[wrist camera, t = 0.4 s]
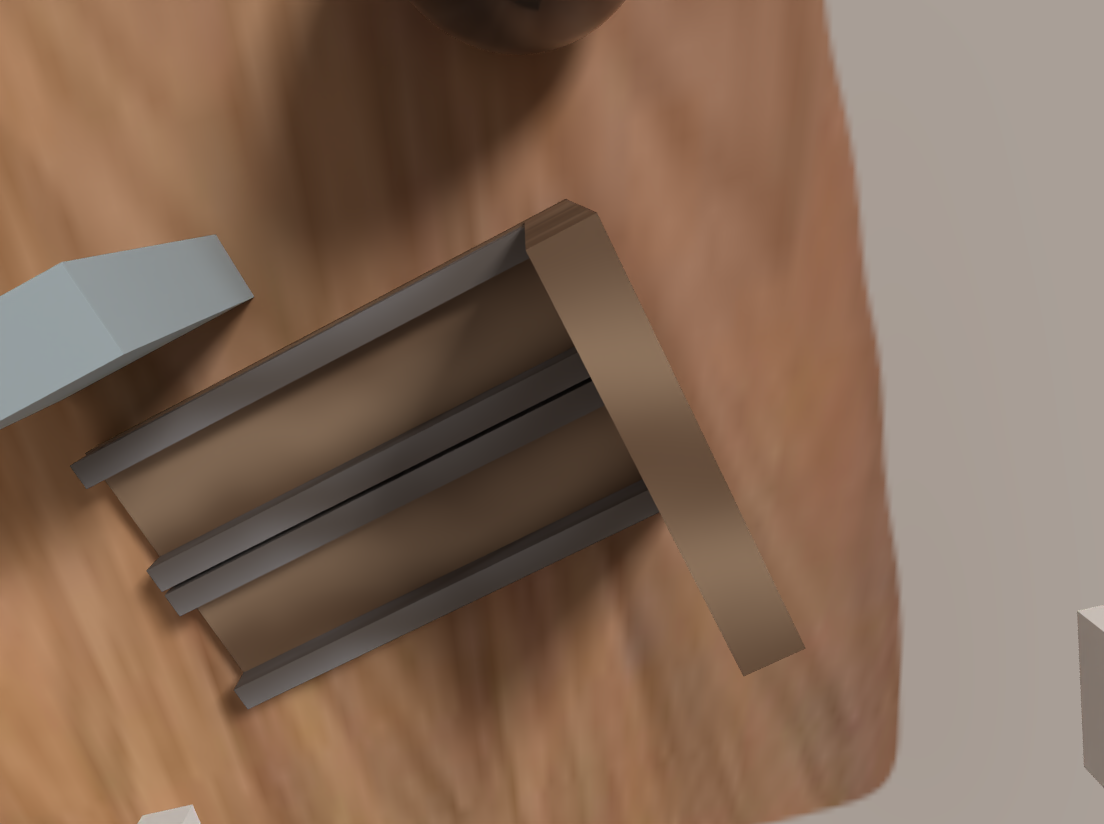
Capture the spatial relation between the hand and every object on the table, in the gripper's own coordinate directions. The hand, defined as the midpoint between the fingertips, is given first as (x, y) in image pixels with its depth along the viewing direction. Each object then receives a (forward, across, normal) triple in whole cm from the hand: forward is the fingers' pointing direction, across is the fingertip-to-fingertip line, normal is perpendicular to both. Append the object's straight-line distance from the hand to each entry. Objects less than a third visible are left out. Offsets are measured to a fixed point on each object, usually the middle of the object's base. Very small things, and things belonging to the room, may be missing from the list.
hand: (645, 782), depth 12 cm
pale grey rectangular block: (+26, -18, +7) cm, 32 cm away
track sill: (+26, -8, -2) cm, 27 cm away
